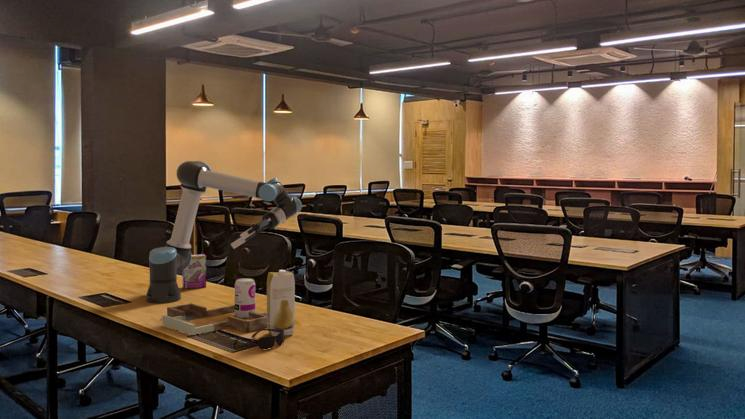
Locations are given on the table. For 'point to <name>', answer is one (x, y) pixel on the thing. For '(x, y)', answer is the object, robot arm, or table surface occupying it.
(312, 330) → the table surface
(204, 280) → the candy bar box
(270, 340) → the sunglasses
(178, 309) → the brown shallow tray
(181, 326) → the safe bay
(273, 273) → the juice carton
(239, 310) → the supplement can
